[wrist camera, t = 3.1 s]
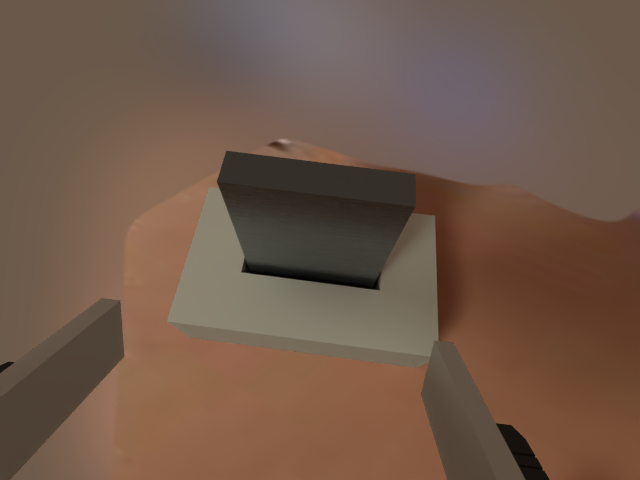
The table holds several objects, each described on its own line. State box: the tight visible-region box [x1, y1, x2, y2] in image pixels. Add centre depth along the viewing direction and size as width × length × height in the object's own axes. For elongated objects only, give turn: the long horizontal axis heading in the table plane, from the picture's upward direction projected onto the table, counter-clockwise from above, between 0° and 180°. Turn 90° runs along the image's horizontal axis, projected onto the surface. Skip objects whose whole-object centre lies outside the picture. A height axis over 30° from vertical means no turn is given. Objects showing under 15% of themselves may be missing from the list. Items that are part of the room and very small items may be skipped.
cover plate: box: [217, 151, 415, 289], centre depth 25 cm, size 10×2×16 cm, turn 83°
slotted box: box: [167, 187, 439, 368], centre depth 31 cm, size 20×12×6 cm, turn 83°
